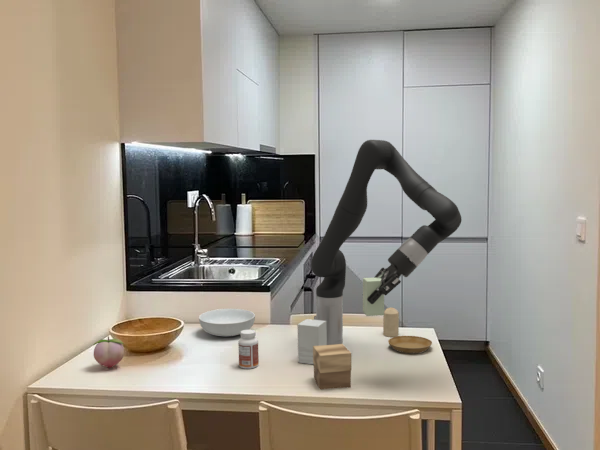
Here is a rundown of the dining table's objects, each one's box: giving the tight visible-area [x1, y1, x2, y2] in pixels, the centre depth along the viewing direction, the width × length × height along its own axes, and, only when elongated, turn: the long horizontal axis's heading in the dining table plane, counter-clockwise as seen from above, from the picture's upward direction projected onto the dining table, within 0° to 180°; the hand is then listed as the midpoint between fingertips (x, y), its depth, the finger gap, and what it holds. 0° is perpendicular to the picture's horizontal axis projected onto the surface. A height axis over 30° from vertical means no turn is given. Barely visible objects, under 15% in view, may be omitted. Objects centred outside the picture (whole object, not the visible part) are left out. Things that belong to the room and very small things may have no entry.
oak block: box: [313, 344, 352, 373], centre depth 175 cm, size 9×9×5 cm
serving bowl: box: [198, 308, 256, 337], centre depth 226 cm, size 21×21×7 cm
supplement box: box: [296, 318, 327, 365], centre depth 195 cm, size 7×7×13 cm
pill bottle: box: [237, 329, 260, 370], centre depth 190 cm, size 6×6×11 cm
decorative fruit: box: [93, 336, 125, 369], centre depth 190 cm, size 9×8×10 cm
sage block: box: [362, 277, 385, 317], centre depth 175 cm, size 5×5×10 cm
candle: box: [382, 307, 400, 338], centre depth 222 cm, size 6×6×10 cm
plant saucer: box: [387, 335, 433, 354], centre depth 207 cm, size 15×15×3 cm
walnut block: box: [313, 364, 352, 390], centre depth 176 cm, size 9×9×5 cm
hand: (367, 299), depth 175 cm, fingers closed on sage block, 5 cm apart
